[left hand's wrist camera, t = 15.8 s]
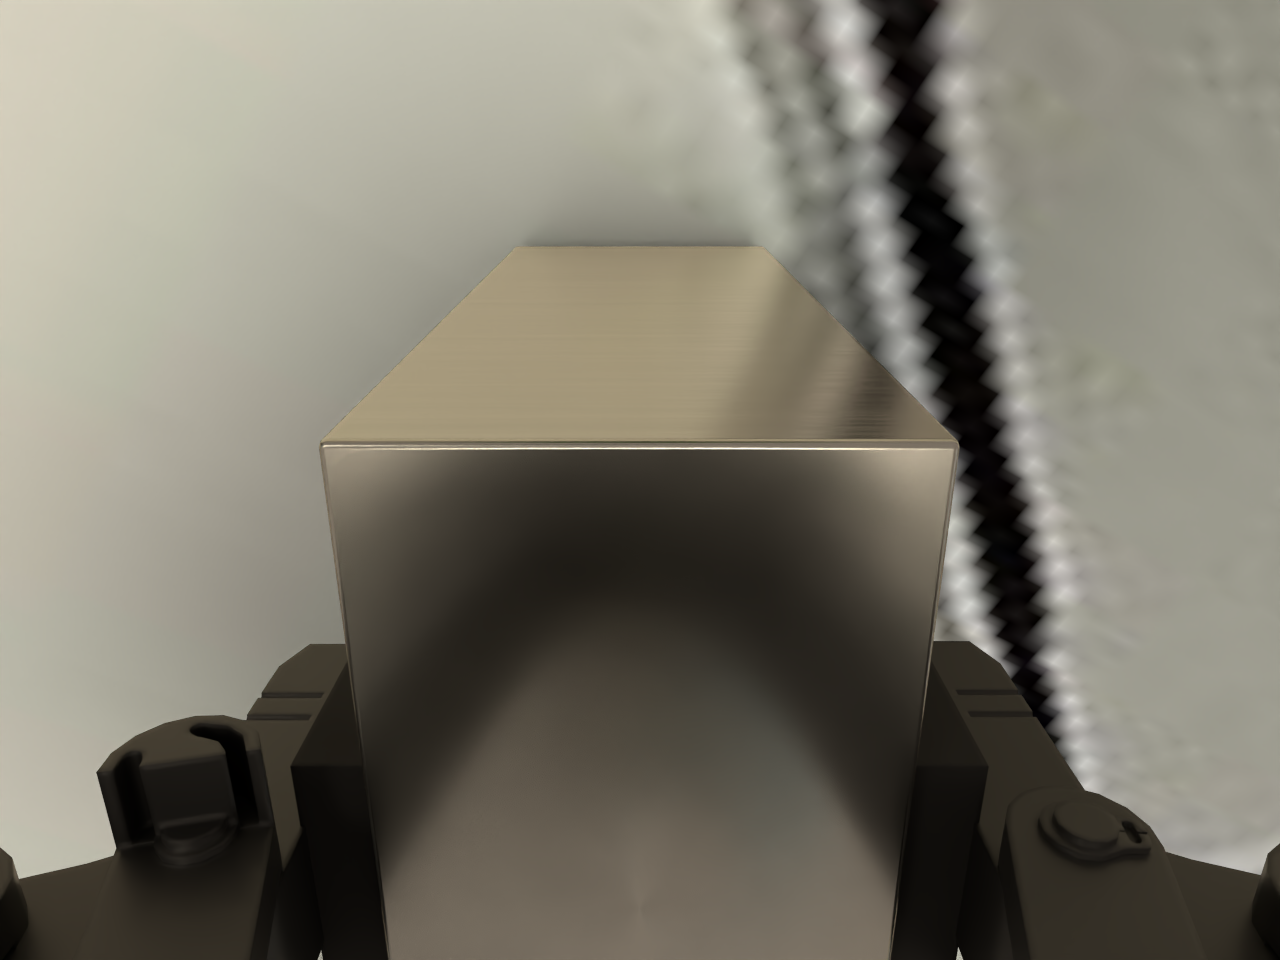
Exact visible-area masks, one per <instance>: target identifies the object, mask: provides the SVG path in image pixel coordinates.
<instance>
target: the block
mask: <svg viewBox="0 0 1280 960" xmlns="http://www.w3.org/2000/svg"><path fill="white" fill-rule="evenodd" d="M319 451H320V458H321V466H322V473H323V481H324V488H325V495H326V503H327V510H328V518H329V525H330V532H331V540H332V547H333V555H334V562H335V569H336V577H337V584H338V592H339V599H340V606H341V614H342V621H343V629H344V636H345V643H346V651H347V658H348V666H349V673H350V680H351V688H352V695H353V703H354V710H355V717H356V725H357V732H358V740H359V747H360V754H361V762H362V769H363V777H364V784H365V791H366V799H367V806H368V813H369V821H370V828H371V836H372V843H373V850H374V858H375V865H376V873H377V880H378V887H379V895H380V902H381V910H382V917H383V924H384V932H385V939H386V947H387V954H388V960H890V959H891V952H892V945H893V937H894V930H895V922H896V915H897V907H898V900H899V892H900V885H901V878H902V870H903V863H904V855H905V848H906V840H907V833H908V826H909V818H910V811H911V803H912V796H913V788H914V781H915V774H916V766H917V759H918V751H919V744H920V736H921V729H922V721H923V714H924V707H925V699H926V692H927V684H928V677H929V669H930V662H931V655H932V647H933V640H934V632H935V625H936V617H937V610H938V602H939V595H940V588H941V580H942V573H943V565H944V558H945V550H946V543H947V536H948V528H949V521H950V513H951V506H952V498H953V491H954V484H955V476H956V469H957V461H958V454H959V444H958V441H957V440H956V439H955V438H954V437H953V436H952V435H951V434H950V433H949V432H948V431H947V430H946V429H945V428H944V427H943V426H942V425H941V424H940V423H939V422H938V421H937V420H936V419H935V418H934V417H933V416H932V415H931V414H930V413H929V412H928V411H927V410H926V409H925V408H924V407H923V406H922V405H921V404H920V403H919V402H918V401H917V400H916V399H915V398H914V397H913V396H912V395H911V394H910V393H909V392H908V391H907V390H906V389H905V388H904V387H903V386H902V385H901V384H900V383H899V382H898V381H897V380H896V379H895V378H894V377H893V376H892V375H891V374H890V373H889V372H888V371H887V370H886V369H885V368H884V367H883V366H882V365H881V364H880V363H879V362H878V361H877V360H876V359H875V358H874V357H873V356H872V355H871V354H870V353H869V352H868V351H867V350H866V349H865V348H864V347H863V346H862V345H861V344H860V343H859V342H858V341H857V340H856V339H855V338H854V337H853V336H852V335H851V334H850V333H849V332H848V331H847V330H846V329H845V328H844V327H843V326H842V325H841V324H840V323H839V322H838V321H837V320H836V319H835V318H834V317H833V316H832V315H831V314H830V313H829V312H828V311H827V310H826V309H825V308H824V307H823V306H822V305H821V304H820V303H819V302H818V301H817V300H816V299H815V298H814V297H813V296H812V295H811V294H810V293H809V292H808V291H807V290H806V289H805V288H804V287H803V286H802V285H801V284H800V283H799V282H798V281H797V280H796V279H795V278H794V277H793V276H792V275H791V274H790V273H789V272H788V271H787V270H786V269H785V268H784V267H783V266H782V265H781V264H780V263H779V262H778V261H777V260H776V259H775V258H774V257H773V256H772V255H771V254H770V253H769V252H768V251H767V250H766V249H765V248H764V247H762V246H713V247H709V246H698V247H690V246H683V247H671V246H666V247H652V246H651V247H515V248H514V249H513V250H512V251H511V252H510V253H509V254H508V255H507V256H506V257H505V258H504V259H503V260H502V261H501V262H500V263H499V264H498V265H497V266H496V267H495V268H494V269H493V270H492V271H491V272H490V273H489V274H488V275H487V276H486V277H485V278H484V279H483V280H482V281H481V282H480V283H479V284H478V285H477V286H476V287H475V288H474V289H473V290H472V291H471V292H470V293H469V294H468V295H467V296H466V297H465V298H464V299H463V300H462V301H461V302H460V303H459V304H458V305H457V306H456V307H455V308H454V309H453V310H452V311H451V312H450V313H449V314H448V315H447V316H446V317H445V318H444V319H443V320H442V321H441V322H440V323H439V324H438V325H437V326H436V327H435V328H434V329H433V330H432V331H431V332H430V333H429V334H428V335H427V336H426V337H425V338H424V339H423V340H422V341H421V342H420V343H419V344H418V345H417V346H416V347H415V348H414V349H413V350H412V351H411V352H410V353H409V354H408V355H407V356H406V357H405V358H404V359H403V360H402V361H401V362H400V363H399V364H398V365H397V366H396V367H395V368H394V369H393V370H392V371H391V372H390V373H389V374H388V375H387V376H386V377H385V378H384V379H383V380H382V381H381V382H380V383H379V384H378V385H377V386H376V387H375V388H374V389H373V390H372V391H371V392H370V393H369V394H368V395H367V396H365V397H364V398H363V399H362V400H361V401H360V402H359V403H358V404H357V405H356V406H355V407H354V408H353V409H352V410H351V411H350V412H349V413H348V414H347V415H346V416H345V417H344V418H343V419H342V420H341V421H340V422H339V423H338V424H337V425H336V426H335V427H334V428H333V429H332V430H331V431H330V432H329V433H328V434H327V435H326V436H325V437H324V438H323V439H322V440H321V442H320V445H319Z"/></svg>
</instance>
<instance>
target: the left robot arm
mask: <svg viewBox="0 0 1280 960" xmlns="http://www.w3.org/2000/svg"><path fill="white" fill-rule="evenodd" d="M96 773H97V776H98V780H99V784H100V788H101V791H102V795H103V799H104V803H105V806H106V810H107V814H108V818H109V822H110V825H111V829H112V833H113V837H114V840H115V844H116V851H115V854H114V856H111V857H108V858H104V859H101V860H98V861H94V862H91V863H88V864H83V865H79V866H74V867H70V868H66V869H61V870H57V871H53V872H48V873H44V874H39V875H35V876H31V877H26V878H22V879H19V878H18V875H17V872H16V869H15V866H14V863H13V859H12V857H11V856H9V855H8V854H7V853H6V852H5V851H4V850H2V849H1V848H0V960H317V959H318V957H319V954H320V952H321V951H322V956H323V960H388V954H387V947H386V939H385V932H384V924H383V917H382V910H381V902H380V895H379V887H378V880H377V873H376V865H375V858H374V850H373V843H372V836H371V828H370V821H369V813H368V806H367V799H366V791H365V784H364V777H363V769H362V762H361V754H360V747H359V740H358V732H357V725H356V717H355V710H354V703H353V695H352V688H351V680H350V673H349V666H348V658H347V651H346V644H310V645H308V646H307V647H306V648H304V649H303V650H301V651H300V652H299V653H297V654H296V655H294V656H293V657H292V658H290V659H289V660H288V661H286V662H285V663H283V664H282V665H281V666H279V667H278V669H277V670H276V672H275V673H274V675H273V677H272V678H271V680H270V681H269V683H268V684H267V686H266V687H265V689H264V690H263V692H262V697H261V698H258V699H257V701H256V702H255V704H254V705H253V707H252V708H251V710H250V711H249V713H248V714H247V720H240V719H236V718H232V717H228V716H224V715H217V716H194V717H189V718H185V719H181V720H176V721H172V722H168V723H164V724H162V725H160V726H157V727H155V728H153V729H150V730H148V731H146V732H143V733H141V734H139V735H137V736H135V737H133V738H132V739H131V740H129V741H128V742H126V743H125V744H124V745H122V746H121V747H119V748H118V749H116V750H115V751H114V752H112V753H111V754H110V756H109V757H108V758H107V759H106V761H105V762H104V763H103V765H102V766H101V767H100V769H99V770H98V771H97V772H96ZM958 947H959V950H960V952H961V955H962V957H963V960H1280V844H1279V845H1277V846H1276V847H1275V848H1274V849H1273V850H1272V851H1271V852H1269V853H1268V855H1267V858H1266V862H1265V865H1264V868H1263V871H1262V874H1261V875H1257V874H1253V873H1248V872H1244V871H1240V870H1235V869H1231V868H1226V867H1222V866H1218V865H1213V864H1209V863H1204V862H1200V861H1196V860H1191V859H1188V858H1185V857H1181V856H1178V855H1175V854H1171V853H1168V852H1165V849H1164V847H1163V846H1162V844H1161V843H1160V841H1159V840H1158V838H1157V836H1156V835H1155V833H1154V832H1153V830H1152V829H1151V827H1150V826H1149V825H1147V824H1146V823H1145V822H1144V821H1142V820H1141V819H1140V818H1139V817H1138V816H1136V815H1135V814H1134V813H1133V812H1131V811H1130V810H1129V809H1128V808H1126V807H1124V806H1122V805H1120V804H1118V803H1116V802H1114V801H1112V800H1110V799H1108V798H1106V797H1104V796H1102V795H1100V794H1096V793H1093V792H1089V791H1085V790H1084V788H1083V787H1082V785H1081V784H1080V782H1079V781H1078V779H1077V778H1076V776H1075V775H1074V773H1073V772H1072V770H1071V769H1070V767H1069V766H1068V764H1067V763H1066V761H1065V760H1064V758H1063V757H1062V755H1061V754H1060V752H1059V751H1058V749H1057V748H1056V746H1055V745H1054V743H1053V742H1052V740H1051V739H1050V737H1049V736H1048V734H1047V733H1046V731H1045V730H1044V728H1043V727H1042V725H1041V724H1040V722H1039V721H1038V719H1037V718H1036V717H1033V716H1032V710H1031V709H1030V707H1029V706H1028V704H1027V703H1026V701H1025V700H1024V698H1023V697H1022V695H1018V689H1017V688H1016V686H1015V685H1014V683H1013V682H1012V680H1011V679H1010V677H1009V676H1008V674H1007V673H1006V671H1005V670H1004V668H1003V667H1002V665H1001V664H1000V663H999V662H997V661H996V660H995V659H993V658H992V657H990V656H989V655H988V654H986V653H985V652H983V651H982V650H981V649H979V648H978V647H976V646H975V645H974V644H972V643H971V642H970V641H933V647H932V655H931V662H930V669H929V677H928V684H927V692H926V699H925V707H924V714H923V721H922V729H921V736H920V744H919V751H918V759H917V766H916V774H915V781H914V788H913V796H912V803H911V811H910V818H909V826H908V833H907V840H906V848H905V855H904V863H903V870H902V878H901V885H900V892H899V900H898V907H897V915H896V922H895V930H894V937H893V945H892V952H891V959H890V960H956V956H957V951H958Z"/></svg>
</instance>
